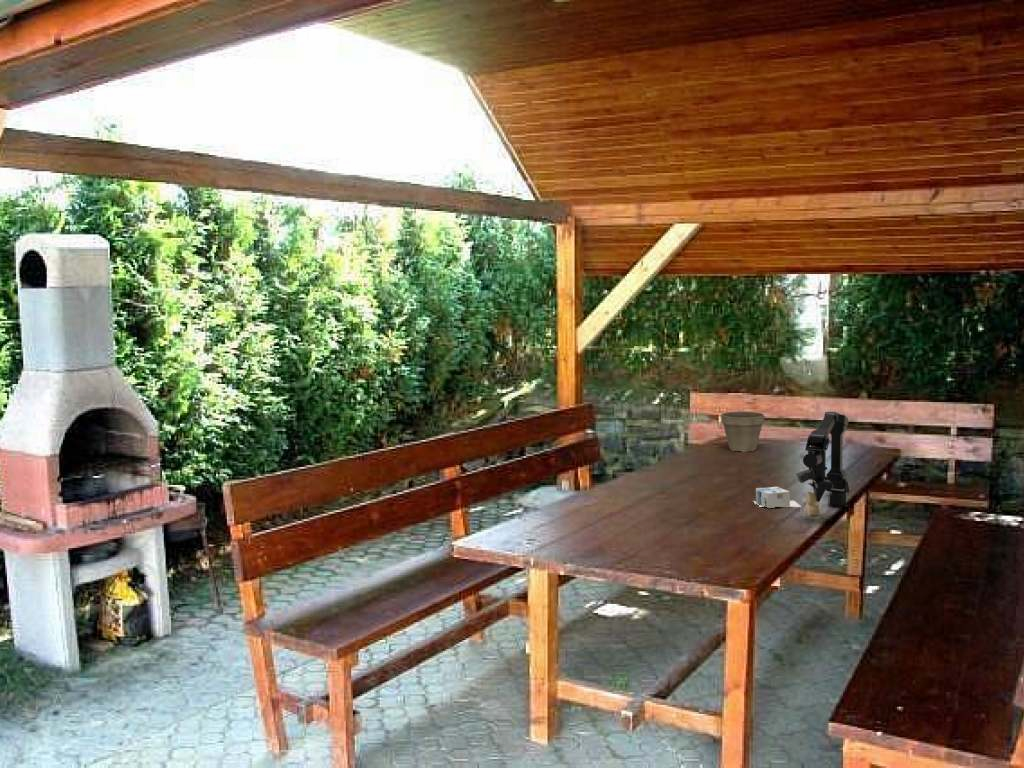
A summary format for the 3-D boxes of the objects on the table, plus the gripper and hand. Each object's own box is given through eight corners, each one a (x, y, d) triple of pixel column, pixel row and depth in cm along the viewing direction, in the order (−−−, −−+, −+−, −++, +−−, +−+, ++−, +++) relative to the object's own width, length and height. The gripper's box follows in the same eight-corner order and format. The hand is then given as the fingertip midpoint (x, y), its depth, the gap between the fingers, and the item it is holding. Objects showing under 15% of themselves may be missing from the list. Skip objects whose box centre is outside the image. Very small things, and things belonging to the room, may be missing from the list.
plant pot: (751, 455, 517) (751, 417, 515) (713, 451, 534) (713, 414, 532) (771, 449, 535) (772, 413, 533) (734, 445, 552) (734, 410, 550)
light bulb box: (768, 493, 385) (755, 487, 396) (768, 508, 386) (755, 503, 397) (790, 491, 388) (776, 486, 399) (790, 506, 389) (776, 500, 399)
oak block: (815, 513, 377) (816, 492, 377) (818, 515, 373) (819, 494, 373) (806, 513, 378) (806, 492, 377) (809, 515, 374) (809, 494, 373)
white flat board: (793, 501, 400) (793, 500, 400) (801, 507, 388) (801, 506, 388) (752, 502, 400) (752, 501, 400) (759, 508, 389) (759, 507, 389)
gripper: (791, 460, 376) (791, 497, 378) (805, 468, 358) (805, 507, 359) (818, 459, 376) (818, 496, 378) (833, 468, 358) (833, 506, 359)
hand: (817, 501), depth 368 cm, fingers closed
